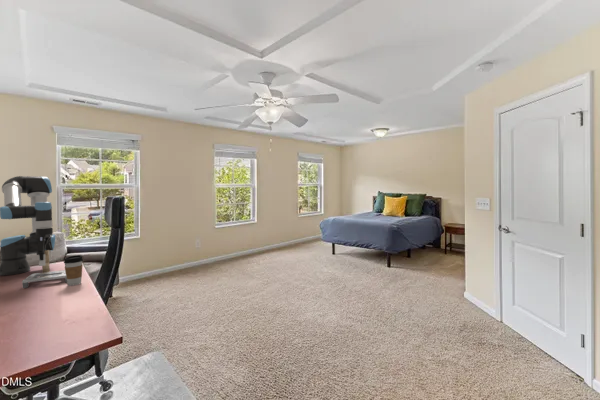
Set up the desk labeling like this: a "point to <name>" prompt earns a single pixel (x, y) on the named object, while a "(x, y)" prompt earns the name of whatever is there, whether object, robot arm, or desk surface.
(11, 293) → the desk surface
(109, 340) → the desk surface
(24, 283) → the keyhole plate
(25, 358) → the desk surface
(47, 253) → the beech peg
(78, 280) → the coffee cup
